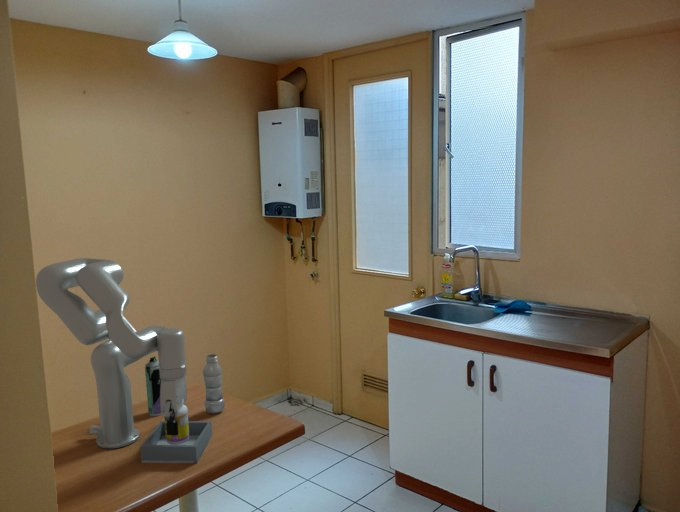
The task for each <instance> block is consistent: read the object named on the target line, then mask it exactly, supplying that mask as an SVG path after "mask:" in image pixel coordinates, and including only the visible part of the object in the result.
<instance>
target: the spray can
mask: <svg viewBox="0 0 680 512" xmlns="http://www.w3.org/2000/svg"><path fill="white" fill-rule="evenodd" d="M149 359H150V360H148V362H147V363H145V367H144V371H145V372H144V373H145V383H146V384H145V385H146V397H147V409H148V410H147V412H148V416H150V417H159V416H162V415H164V413H162V412H161V402H160V388H161V380H162V379H160V371H159V360H158V359H156V356H152V357H150V358H149Z"/></svg>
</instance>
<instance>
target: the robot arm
mask: <svg viewBox="0 0 680 512" xmlns="http://www.w3.org/2000/svg"><path fill="white" fill-rule="evenodd" d="M124 274H125V273H124V270H123V268H122V267H121V265H120V264H119V263H118V262H116V261H114V260H111V259H105V258H103V259H101V258H89V257H88V258H85V257H83V258H82V257H81V258H74V259H69V260H65V261H64V260H63V261H60V262H59V261H58V262H55V263H52V264H49V265H46V266H45V267H42V268H41V269H40V270H39V271H38V273H37V274H36V277H35V288H36V287H37V288H36V292H37V294H38V296H39V298H40V299H41V301H42V302H43V303H44V304H45V305H46V306H47V307H48V308H49V309H50V310H51V311H52V312H53V313H54V314H56V315H57V317H58V318H59V319H60V320H61V322H62V323H63V324H64V325H65V326H66V327H67V329H68V330H69V332H70V333H71V334H72V335H73V336H74V337H75V338H76V339H77V341H78V342H79V343H80V344H83V345H85V346H92V345H95V344H98V343H99V344H98V345H97V346H96V347H95V348H94V349H93V350H92V351H91V354H90V364H91V367H92V371H93V373H94V378H95V384H96V385H95V386H96V392H97V402H98V403H97V404H98V414H99V424H100V425H93V424H92V425H90V426H89V428H88V431H89V433H88V434H89V435H91V436H92V435H96V436H97V437H96V439H95V442H96V443H95V444H96V445H97V446H98V447H100V448H103V449H118V448H123V447H126V446H129V445H131V444H133V443H135V442H136V441H137V440H138V439H139V438H140V437H141V436H140V435H141V434H140V430H139V429H138V428H137V427H135V421H134V412H133V410H134V409H133V400H132V399H133V397H132V387H131V380H130V377H129V376H128V375H127V373H126V372H125V368H126V367H128V366H129V365H132V364H134V363H136V362H137V361H139V360H140V359H142V358H144V357H146V356H148V355H151V354H153V353H155V352H157V354H158V361H159V371H160V379H162V380H161V388H160V402H161V412H162V413H164V414H163V418H164V421H165V420H166V428H167V435H178V421H176V417H177V412H178V411H179V410H180V409H181V407H182V400H183V399H184V403H183V405H185V406H186V407H187V405H186V402H187V401H188V398H187V397H188V393H187V391H188V389H187V381H186V377H187V375H188V373H187V363H186V362H187V361H186V360H187V359H186V345H185V333H184V331H183V330H182V329H180V328H176V327H175V328H174V327H172V328H168V327H165V326H161V325H158V324H154V325H153V324H152V325H149V326H146V327H144V328H142V329H139V330H136V329H135V327H134V326H133V325H132V324H131V323H130V321H129V320H128V319H127V318H126V317H125V316H124V314H123V312H124V310H125V309H126V308H127V306H128V305H129V304H130V301H131V299H130V295H129V294H128V293H127V292H126V291H125V290H124V289H123V288H122V287H121V285H119V284H121V283H122V282H123V280H124V277H125V276H124ZM75 287H79V288H81V290H82V291H83V292H84V293H85V294H86V295H87V296H88V297H89V299H90V300H91V301H92V302H93V303H94V304H95V305H96V306H97V307H98V308H99V309H98V310H93V308H91V306H89V304H88V303H87V302H86V301H85V300H84V299H83V297H80V296H79V295H78V294H76V293H74V292H71V291H70V290H69V289H72V288H75ZM107 339H108V340H107ZM105 340H106V341H105ZM102 341H104V342H102ZM100 342H101V343H100ZM171 409H174V411H171ZM170 414H174V416H173V417H172V416H170Z"/></svg>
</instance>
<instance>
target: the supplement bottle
mask: <svg viewBox="0 0 680 512" xmlns="http://www.w3.org/2000/svg"><path fill="white" fill-rule="evenodd" d="M183 403H184V399H183V400H182V407H181V409H180V410H179V411H178V412H177V417H176V421H178V435H167V428H166V420H165V419H164V421H165V430H166V441H167V442H168V443H169V444H181V443H184V442H186V441H187V440H188V439H189V424H188V421H189V409H188V407H187V405H186V404H185V405H186V406H185V405H183ZM171 411H174V409H171ZM170 416H172V417H173V416H174V414H170Z"/></svg>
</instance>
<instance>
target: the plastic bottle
mask: <svg viewBox="0 0 680 512" xmlns="http://www.w3.org/2000/svg"><path fill="white" fill-rule="evenodd" d="M205 357H206V360H205V361H206V363H205V364H204V367H203V369H202V376H203V379H204V386H205V400H204V408H205V410H206V412H207V413H208V414H218V413H222V412H223V411H224V409H225V405H226V403H225V399H224V396H223V395H224V394H223V389H222V388H223V387H222V385H223V384H222V383H223V381H222V380H223V379H222V378H223V369H222V366H221V365H220V364H219V363H218V362H219V360H218V354H213V353H211V354H207V355H206V356H205Z"/></svg>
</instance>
